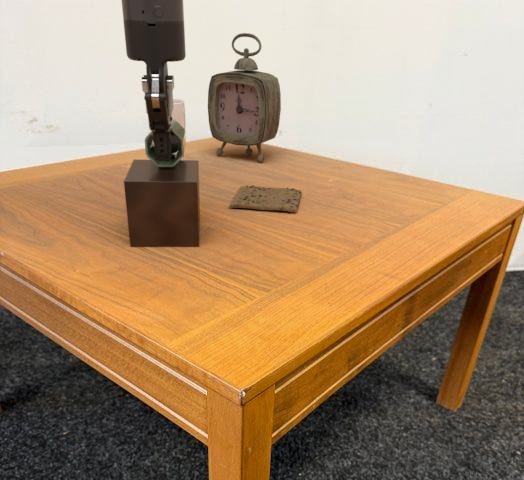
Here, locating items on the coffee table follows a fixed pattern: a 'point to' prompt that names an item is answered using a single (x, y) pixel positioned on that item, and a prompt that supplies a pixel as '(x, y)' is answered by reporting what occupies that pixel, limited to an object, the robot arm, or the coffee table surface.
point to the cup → (176, 145)
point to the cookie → (267, 198)
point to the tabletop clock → (244, 104)
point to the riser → (163, 204)
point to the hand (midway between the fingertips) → (163, 159)
